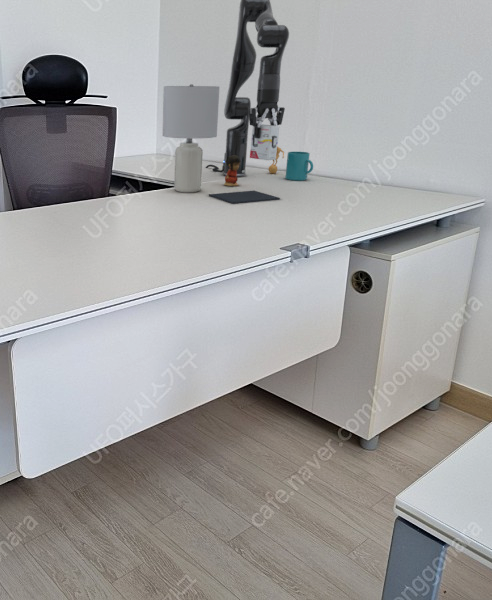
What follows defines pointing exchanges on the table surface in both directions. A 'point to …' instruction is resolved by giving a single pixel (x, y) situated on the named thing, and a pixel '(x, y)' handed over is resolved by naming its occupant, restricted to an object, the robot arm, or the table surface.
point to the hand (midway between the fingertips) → (264, 137)
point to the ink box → (265, 143)
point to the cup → (298, 166)
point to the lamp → (189, 128)
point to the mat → (244, 197)
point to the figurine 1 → (232, 170)
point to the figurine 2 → (273, 167)
